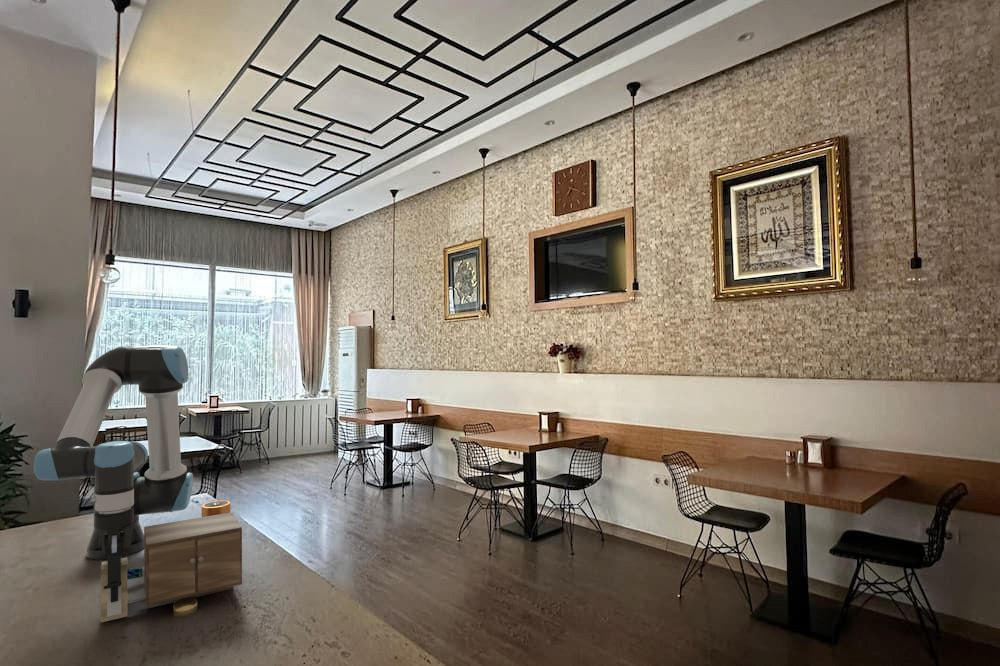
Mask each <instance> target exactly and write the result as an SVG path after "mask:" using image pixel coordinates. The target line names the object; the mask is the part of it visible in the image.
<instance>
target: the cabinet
mask: <svg viewBox="0 0 1000 666" xmlns="http://www.w3.org/2000/svg"><path fill="white" fill-rule="evenodd" d="M143 528H144V529H143V534H144V548H143V552H144V553H143V555H144V556H143V559H144V560H143V563H144V564H143V567H144V577H143V582H144V583H143V584H144V596H145V597H146V606H151V605H155V604H159V603H164V602H168V601H172V600H176V599H181V598H185V597H189V596H194V595H198V594H202V593H204V595H203V596H208V595H211V594H217V593H220V592H225V591H228V590H232V589H233V590H234V587H236V586H240V585H243V526H242V525H241V524H240V522H239V520H238V519H237V517H236V516H235V514H234V513H233V512H231V511H230V513H225V514H219V515H213V516H207V517H202V516H201V517H195V518H189V519H183V520H178V521H177V520H176V521H171V522H167V523H166V522H165V523H158V524H154V525H146V526H144V527H143ZM203 596H202V597H203ZM199 597H200V596H198V597H197V598H199ZM194 598H196V597H194ZM174 603H175V602H173V603H172V604H174ZM169 604H171V603H169ZM169 604H168V605H169ZM165 605H166V604H164V605H163V606H165ZM160 606H162V605H160ZM160 606H159V607H160ZM156 607H158V606H156ZM147 609H149V608H147Z"/></svg>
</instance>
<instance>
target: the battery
mask: <svg viewBox="0 0 1000 666" xmlns="http://www.w3.org/2000/svg"><path fill="white" fill-rule="evenodd" d="M225 513H231V501H229V500H214V501H209V502H206V503H203V504H202V505H201V517H207V516H213V515H219V514H225Z"/></svg>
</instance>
